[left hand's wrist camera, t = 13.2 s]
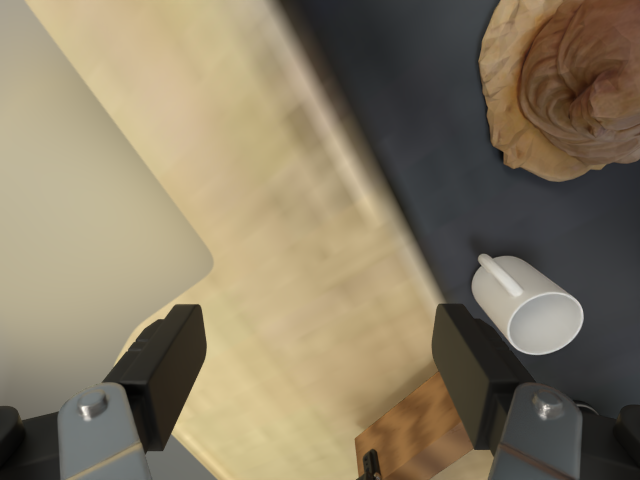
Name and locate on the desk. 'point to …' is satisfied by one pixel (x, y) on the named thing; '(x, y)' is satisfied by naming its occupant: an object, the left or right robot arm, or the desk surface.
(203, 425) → the desk surface
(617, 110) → the sculpture
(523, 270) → the mug
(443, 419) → the bar
